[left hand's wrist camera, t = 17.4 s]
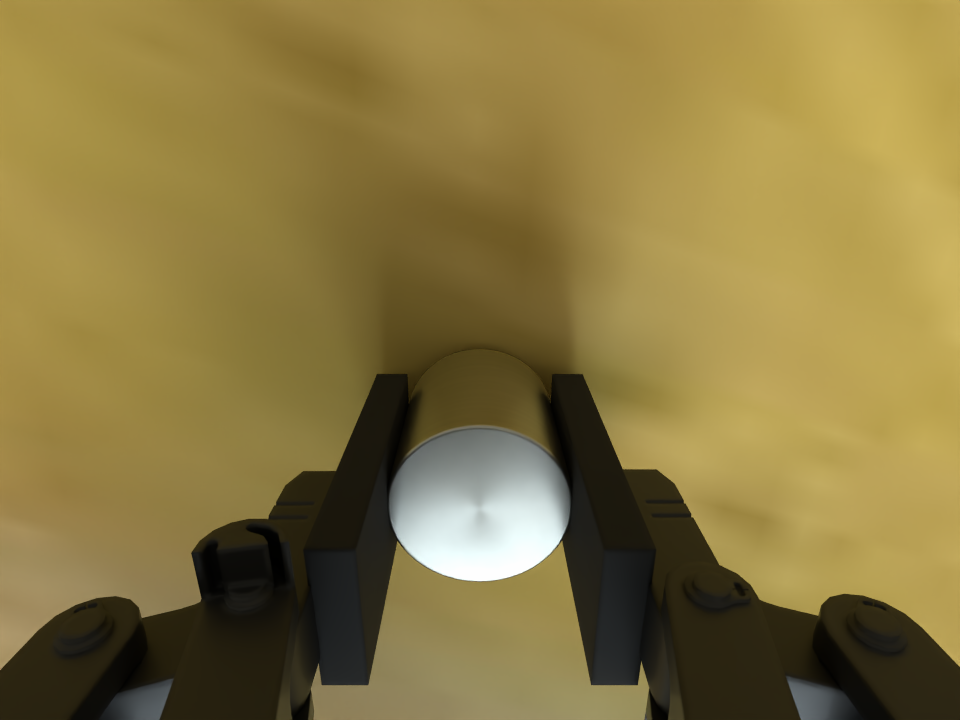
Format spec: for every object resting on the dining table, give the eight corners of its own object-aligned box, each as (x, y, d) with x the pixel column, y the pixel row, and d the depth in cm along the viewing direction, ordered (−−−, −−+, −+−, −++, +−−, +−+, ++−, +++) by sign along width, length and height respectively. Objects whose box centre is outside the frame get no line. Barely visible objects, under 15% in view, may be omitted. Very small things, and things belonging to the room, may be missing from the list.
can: (389, 446, 16) (360, 550, 12) (440, 325, 14) (425, 397, 10) (515, 492, 16) (526, 604, 12) (575, 379, 15) (607, 465, 11)
